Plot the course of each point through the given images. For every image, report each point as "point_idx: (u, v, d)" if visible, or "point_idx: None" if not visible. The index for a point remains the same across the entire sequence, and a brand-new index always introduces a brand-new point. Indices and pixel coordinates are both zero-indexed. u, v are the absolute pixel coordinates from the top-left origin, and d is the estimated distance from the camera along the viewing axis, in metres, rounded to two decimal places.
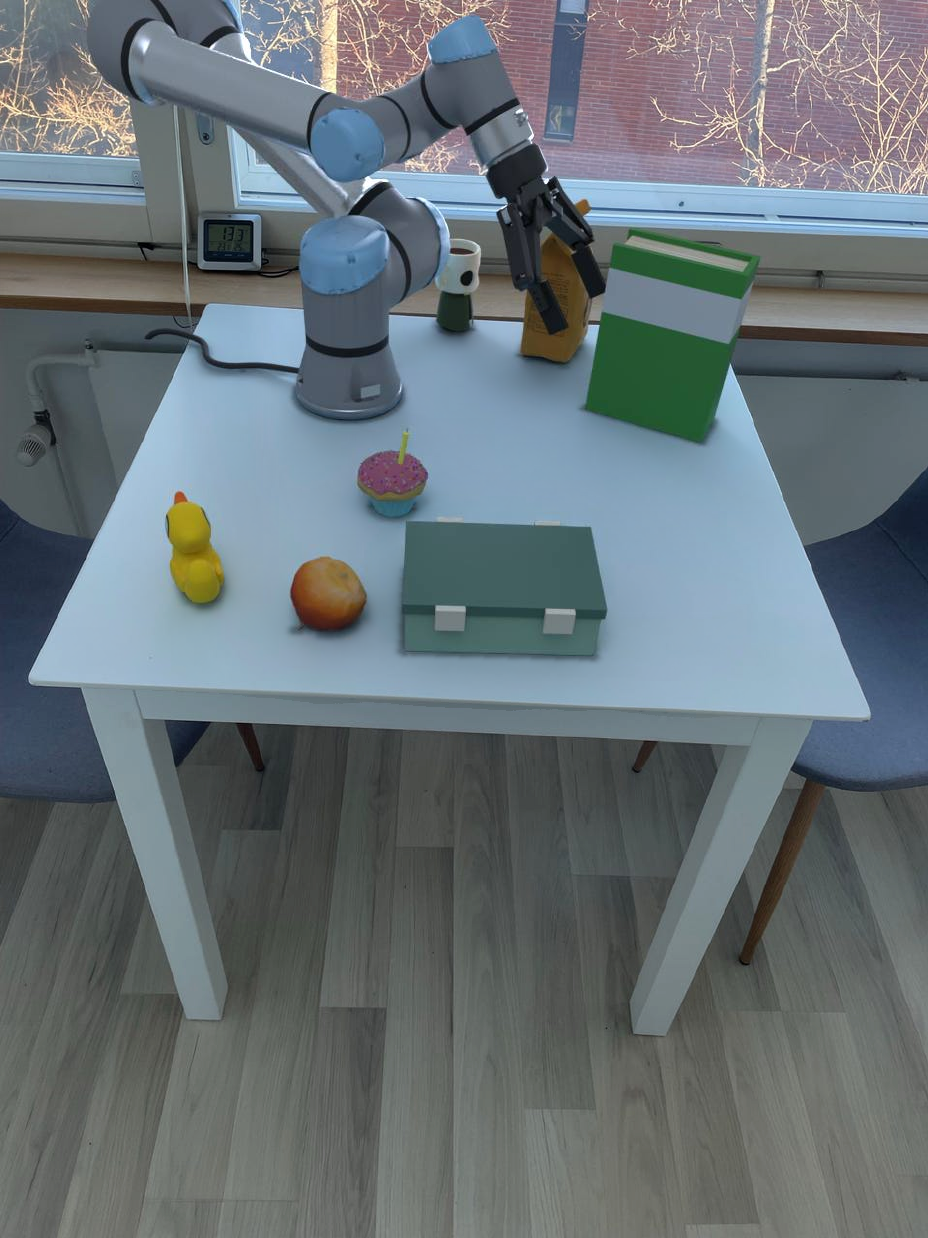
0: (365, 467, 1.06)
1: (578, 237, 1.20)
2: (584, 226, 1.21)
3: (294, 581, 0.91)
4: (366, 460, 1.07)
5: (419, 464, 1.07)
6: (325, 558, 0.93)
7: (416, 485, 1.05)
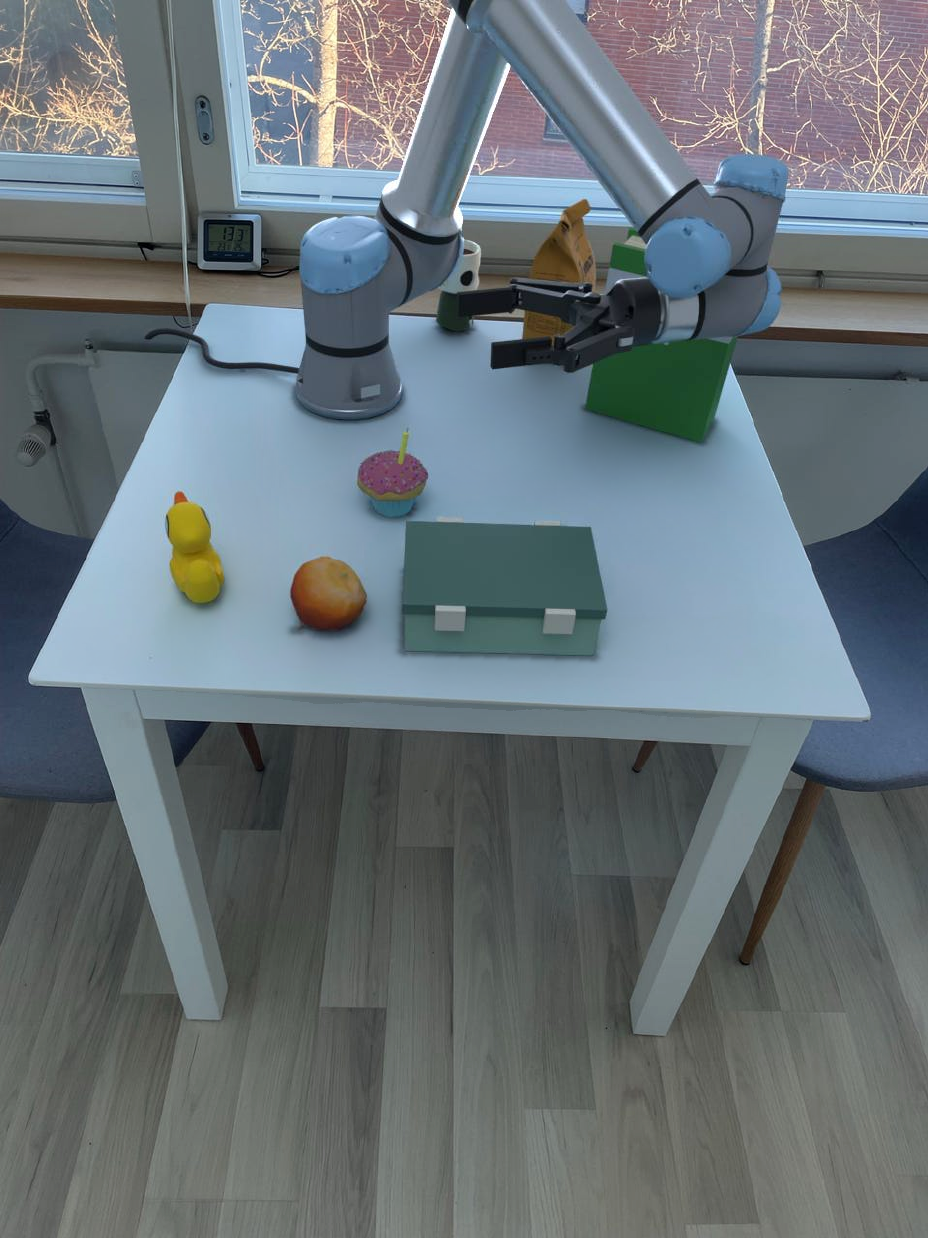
0: (365, 467, 1.06)
1: (524, 307, 1.05)
2: None
3: (294, 581, 0.91)
4: (366, 460, 1.07)
5: (419, 464, 1.07)
6: (325, 558, 0.93)
7: (416, 485, 1.05)
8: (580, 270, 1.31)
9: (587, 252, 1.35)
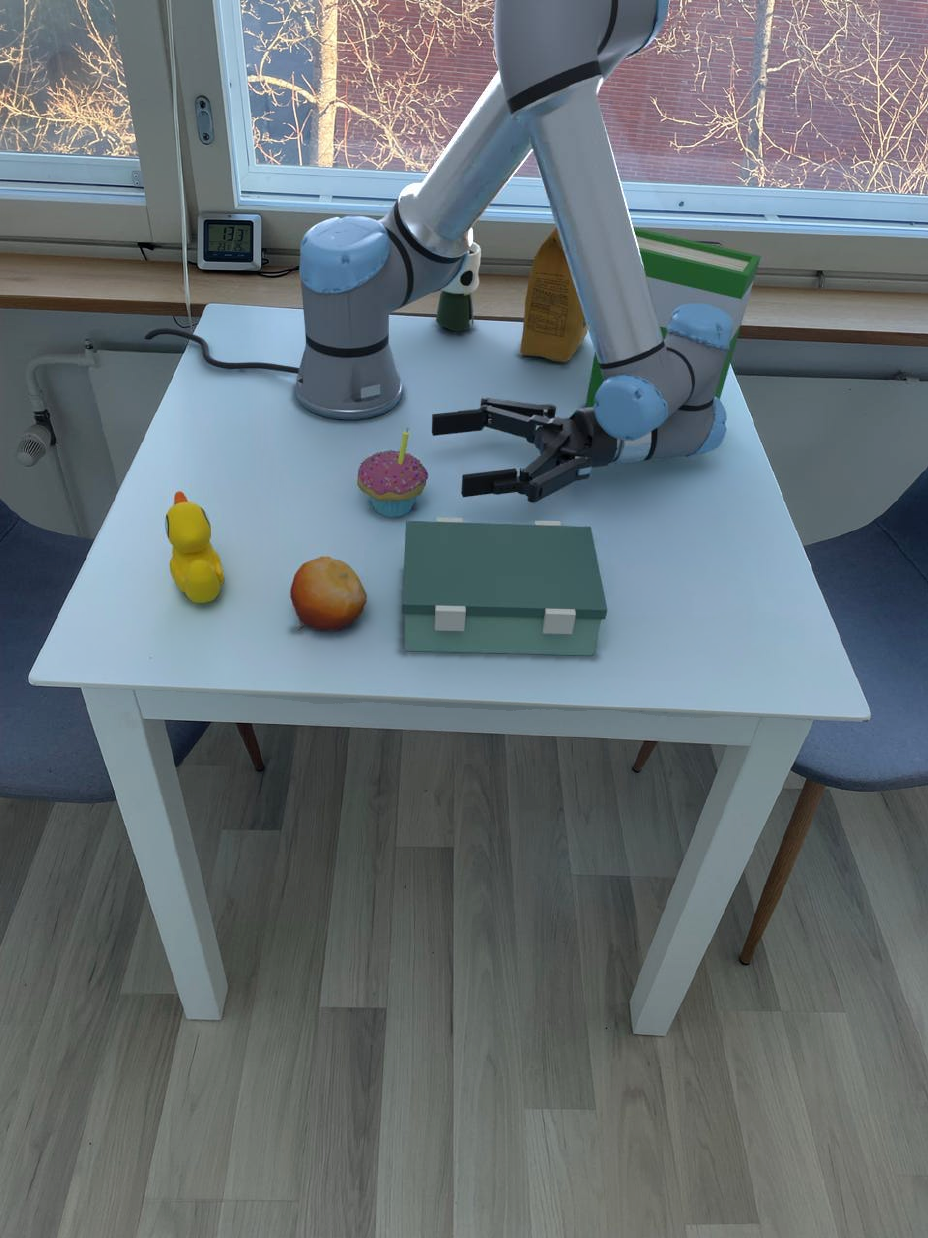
0: (365, 467, 1.06)
1: (493, 426, 1.14)
2: None
3: (294, 581, 0.91)
4: (366, 460, 1.07)
5: (419, 464, 1.07)
6: (325, 558, 0.93)
7: (416, 485, 1.05)
8: None
9: None
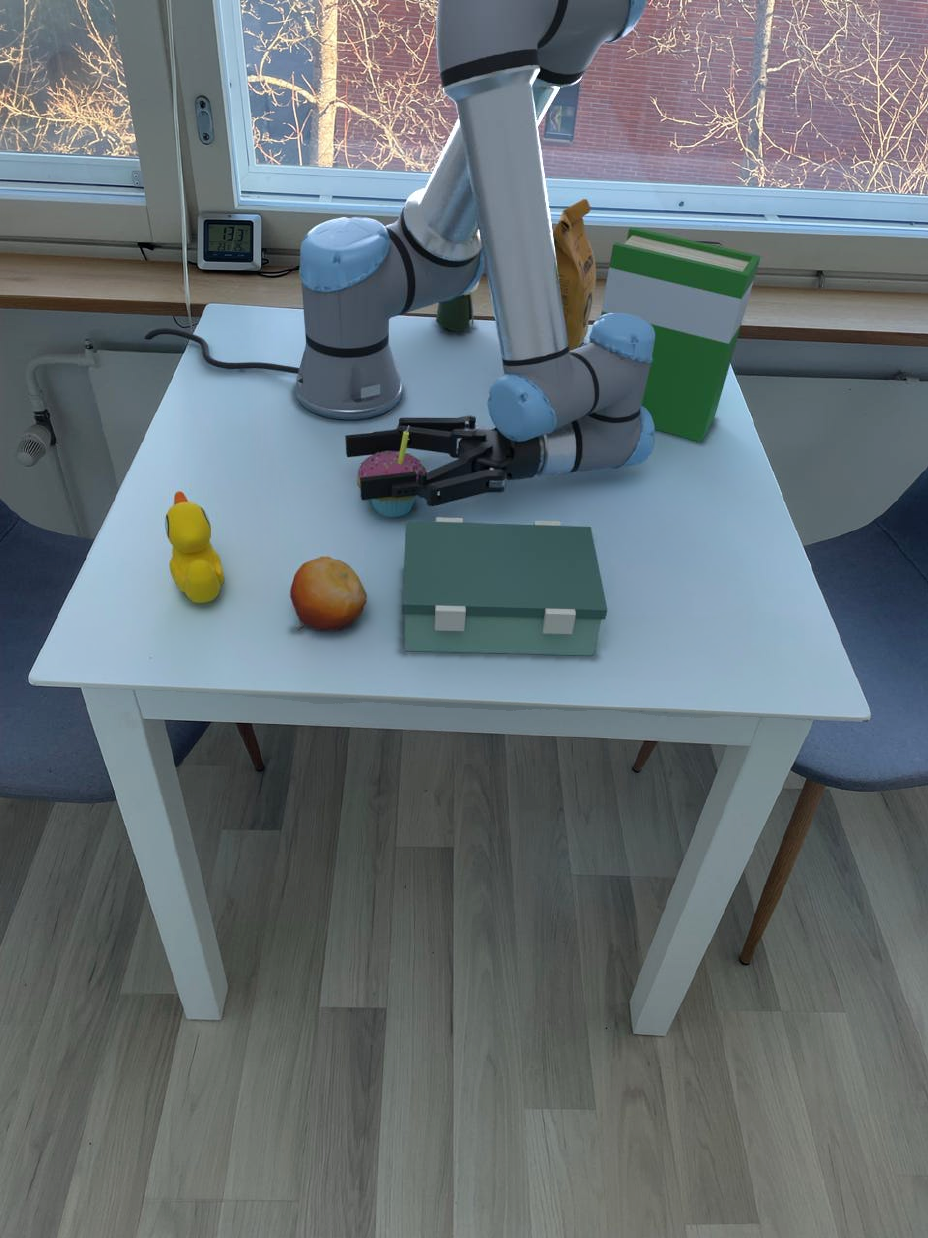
0: (365, 467, 1.06)
1: (413, 446, 1.11)
2: None
3: (294, 581, 0.91)
4: (366, 460, 1.07)
5: (419, 464, 1.07)
6: (325, 558, 0.93)
7: None
8: (580, 270, 1.31)
9: (587, 252, 1.35)
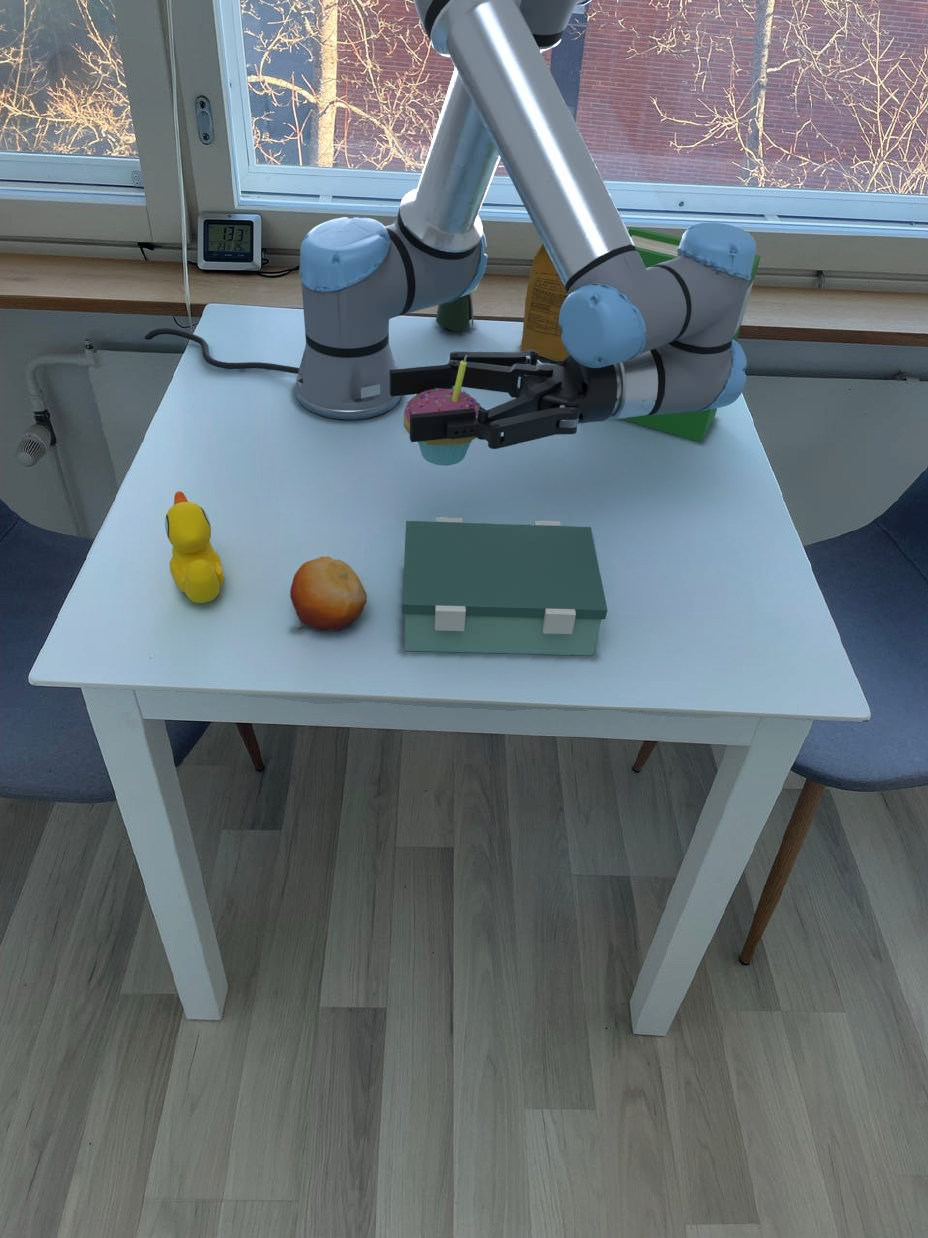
0: (413, 406, 0.91)
1: (467, 384, 0.95)
2: None
3: (294, 581, 0.91)
4: (414, 398, 0.92)
5: (476, 403, 0.92)
6: (325, 558, 0.93)
7: None
8: None
9: None
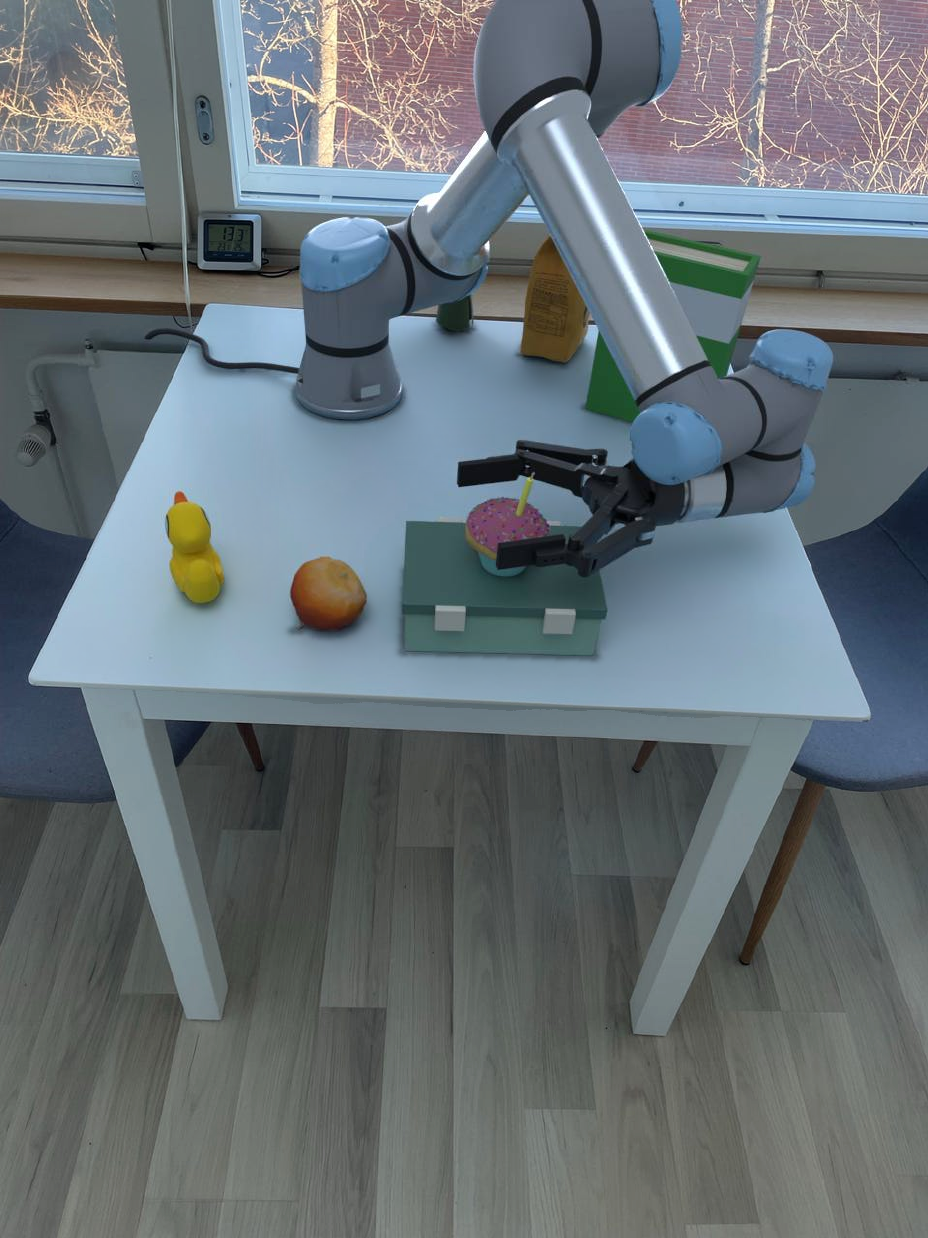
0: (476, 519, 0.88)
1: None
2: None
3: (294, 581, 0.91)
4: (476, 510, 0.89)
5: (539, 515, 0.90)
6: (325, 558, 0.93)
7: None
8: None
9: None
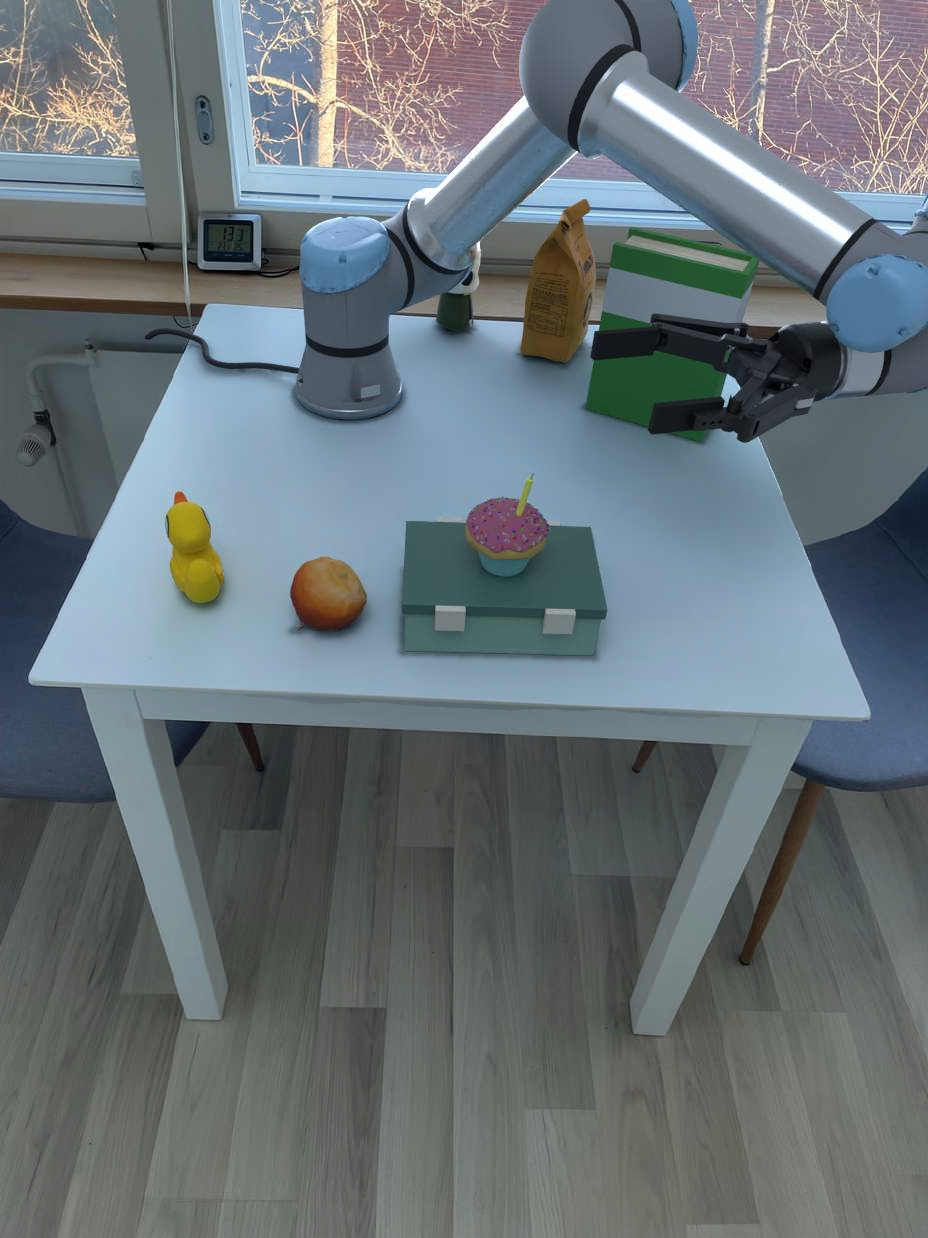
0: (476, 519, 0.88)
1: (668, 350, 0.88)
2: None
3: (294, 581, 0.91)
4: (476, 510, 0.89)
5: (539, 515, 0.90)
6: (325, 558, 0.93)
7: (538, 541, 0.88)
8: (580, 270, 1.31)
9: (587, 252, 1.35)
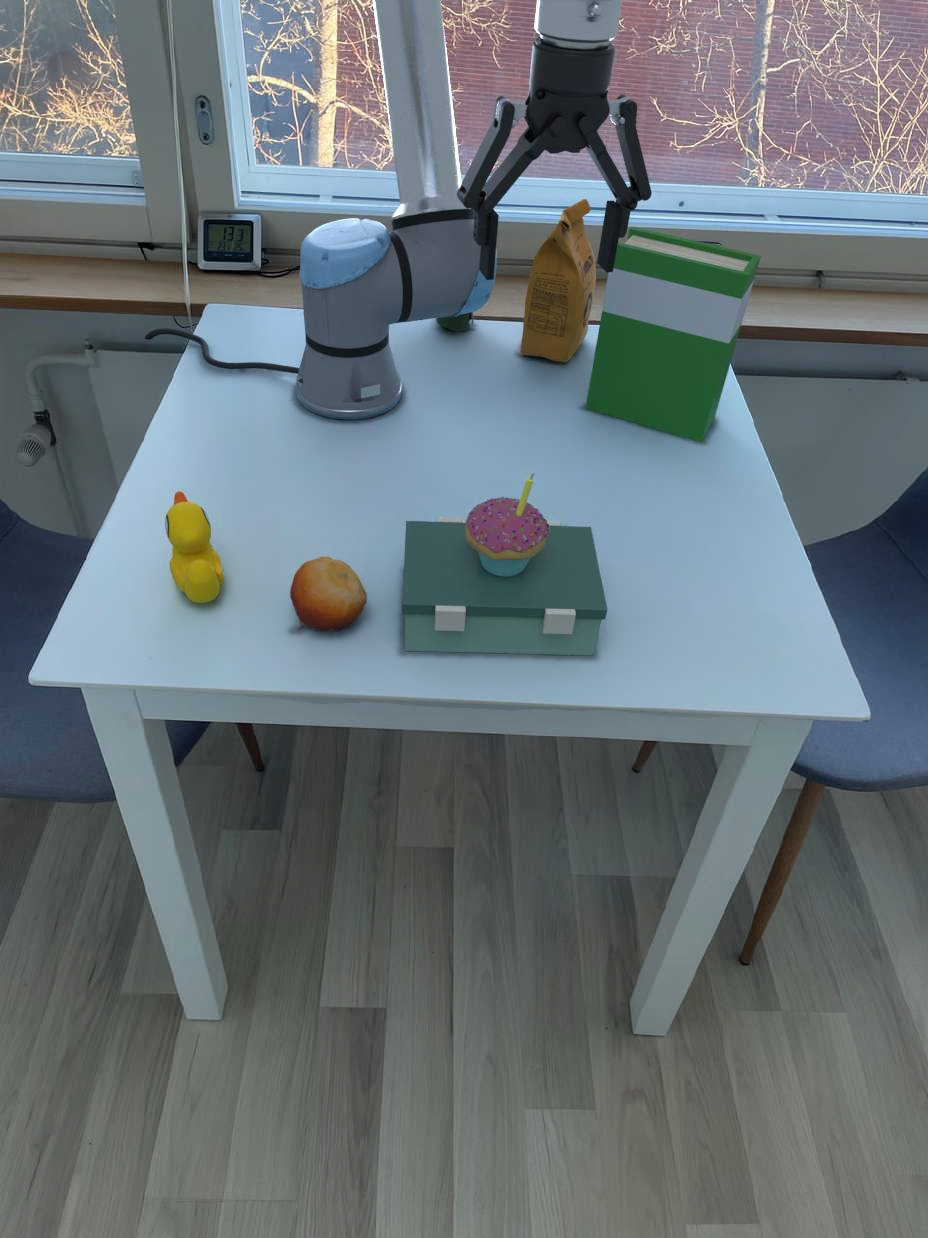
0: (476, 519, 0.88)
1: (616, 192, 0.90)
2: (638, 184, 0.90)
3: (294, 581, 0.91)
4: (476, 510, 0.89)
5: (539, 515, 0.90)
6: (325, 558, 0.93)
7: (538, 541, 0.88)
8: (580, 270, 1.31)
9: (587, 252, 1.35)
